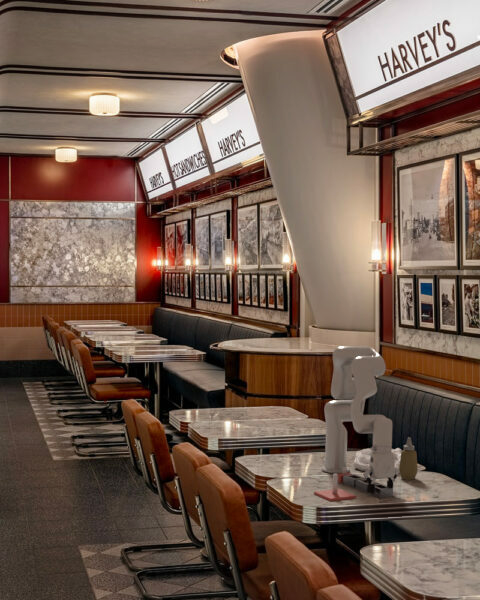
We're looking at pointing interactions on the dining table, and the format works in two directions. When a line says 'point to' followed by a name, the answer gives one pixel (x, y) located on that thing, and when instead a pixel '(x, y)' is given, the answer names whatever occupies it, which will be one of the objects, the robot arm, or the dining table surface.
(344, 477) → the link
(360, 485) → the link
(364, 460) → the pretzel
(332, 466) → the robot arm
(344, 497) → the keeper
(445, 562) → the dining table surface
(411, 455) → the squeeze bottle
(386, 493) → the end link
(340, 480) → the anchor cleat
